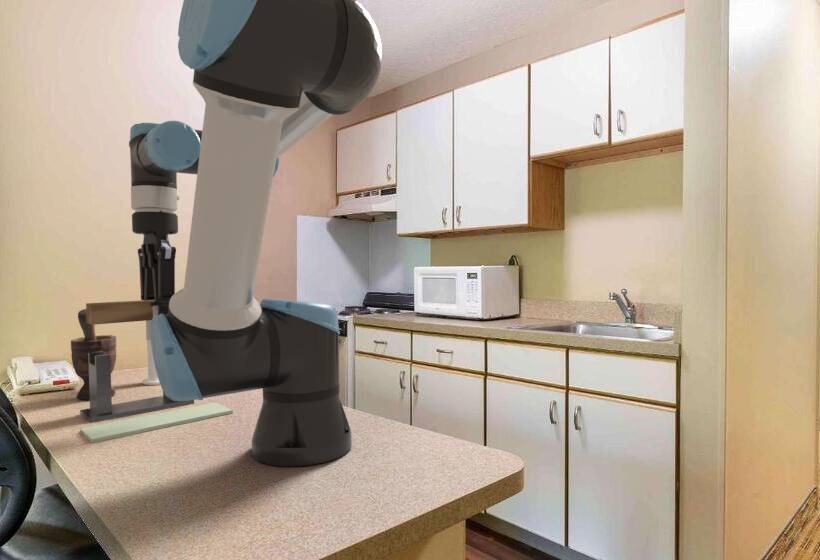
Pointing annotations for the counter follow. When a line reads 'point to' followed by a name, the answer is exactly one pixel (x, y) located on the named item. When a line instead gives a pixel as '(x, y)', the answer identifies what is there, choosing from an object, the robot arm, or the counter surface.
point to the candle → (151, 368)
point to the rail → (119, 312)
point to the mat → (153, 422)
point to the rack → (103, 400)
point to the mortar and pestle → (90, 344)
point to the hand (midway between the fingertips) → (158, 340)
